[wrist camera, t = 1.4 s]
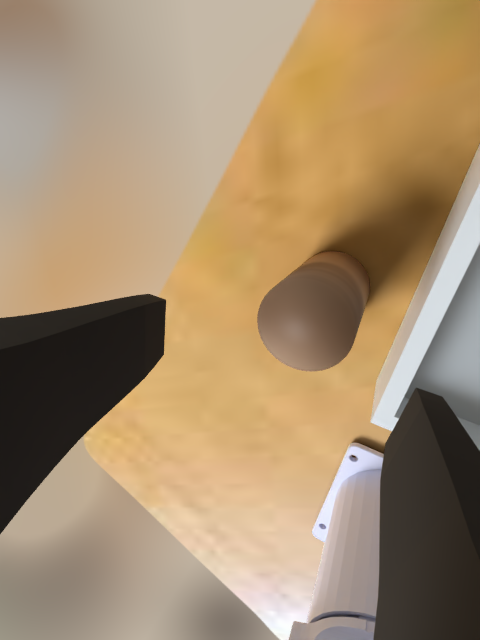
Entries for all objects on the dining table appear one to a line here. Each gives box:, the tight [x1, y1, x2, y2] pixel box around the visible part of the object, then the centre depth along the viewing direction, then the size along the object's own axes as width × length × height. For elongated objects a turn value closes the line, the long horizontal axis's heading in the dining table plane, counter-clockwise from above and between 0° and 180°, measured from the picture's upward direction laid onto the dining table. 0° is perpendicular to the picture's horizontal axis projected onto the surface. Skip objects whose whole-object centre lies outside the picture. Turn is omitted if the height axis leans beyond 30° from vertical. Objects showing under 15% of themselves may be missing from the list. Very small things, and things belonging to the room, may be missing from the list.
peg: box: [258, 251, 370, 371], centre depth 16 cm, size 4×4×6 cm
